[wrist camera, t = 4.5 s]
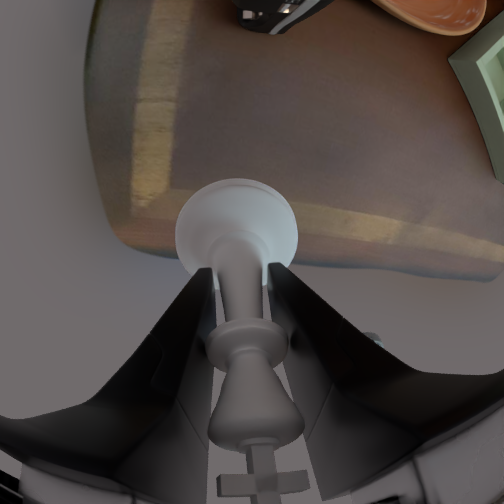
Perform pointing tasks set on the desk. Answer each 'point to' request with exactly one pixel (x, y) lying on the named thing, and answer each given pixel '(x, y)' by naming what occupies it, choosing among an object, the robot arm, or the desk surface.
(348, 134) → the desk surface
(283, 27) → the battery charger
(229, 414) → the chess piece
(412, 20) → the saucer
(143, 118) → the desk surface
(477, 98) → the compartment tray
